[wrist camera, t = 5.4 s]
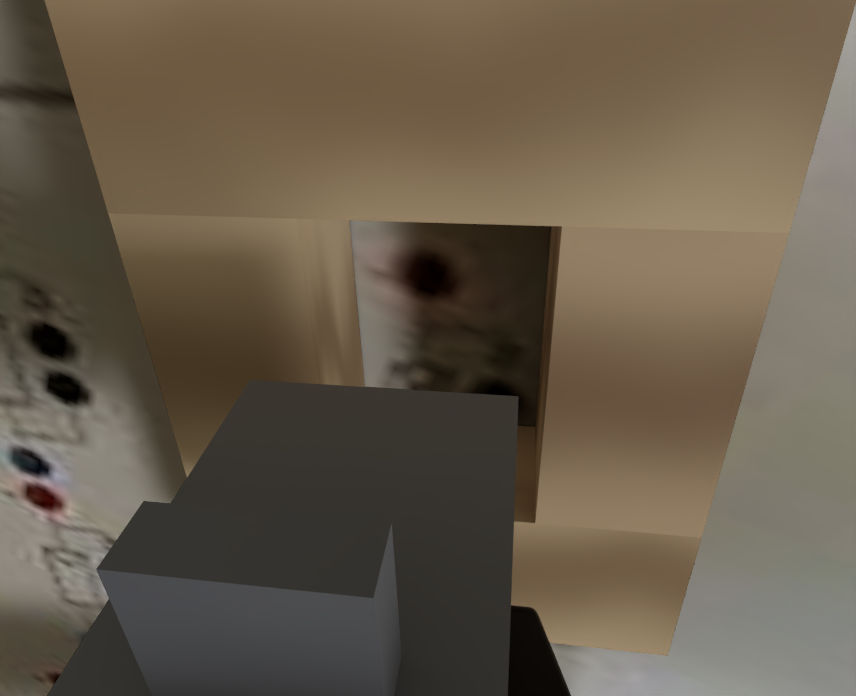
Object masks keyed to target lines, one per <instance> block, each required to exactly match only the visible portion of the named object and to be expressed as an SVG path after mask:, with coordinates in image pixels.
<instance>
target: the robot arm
mask: <svg viewBox="0 0 856 696" xmlns="http://www.w3.org/2000/svg"><path fill="white" fill-rule="evenodd" d="M508 696H571V694H570V692H569V689H568V687H567V685H566V682H565V680H564V677H563V675H562V672H561V670H560V667H559V665H558V662H557V660H556V657H555V655H554V652H553V650H552V647H551V645H550V642H549V640H548V637H547V635H546V632H545V630H544V627H543V625H542V622H541V620H540V617H539V615H538V613H537V612H536V610H535V609H534V608H532V607H524V606H514V605H511V619H510V647H509V675H508Z"/></svg>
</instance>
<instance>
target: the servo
mask: <svg viewBox="0 0 856 696" xmlns="http://www.w3.org/2000/svg"><path fill="white" fill-rule="evenodd" d="M518 398H519V396H505V395H488V394H472V393H456V392H440V391H423V390H407V389H391V388H375V387H358V386H342V385H326V384H310V383H293V382H277V381H261V380H250V381H249V382H248V384H247V385H246V387H245V388H244V390H243V391H242V393H241V395H240V396H239V398H238V399H237V401H236V402H235V404H234V405H233V407H232V409H231V410H230V412H229V413H228V415H227V416H226V418H225V419H224V421H223V423H222V424H221V426H220V427H219V429H218V430H217V432H216V433H215V435H214V437H213V438H212V440H211V441H210V443H209V444H208V446H207V447H206V449H205V451H204V452H203V454H202V455H201V457H200V458H199V460H198V461H197V463H196V465H195V466H194V468H193V469H192V471H191V472H190V474H189V475H188V477H187V479H186V480H185V482H184V483H183V485H182V486H181V488H180V489H179V491H178V493H177V494H176V496H175V497H174V499H173V500H172V502H171V503H159V502H148V501H143V503H142V504H141V506H140V507H139V509H138V510H137V512H136V513H135V514H134V516H133V517H132V519H131V520H130V522H129V523H128V525H127V526H126V527H125V529H124V530H123V532H122V533H121V535H120V536H119V538H118V539H117V540H116V542H115V543H114V545H113V546H112V548H111V549H110V551H109V552H108V553H107V555H106V556H105V558H104V559H103V561H102V562H101V563H100V565H99V566H98V568H97V569H96V570H97V572H98V574H99V576H100V579H101V581H102V583H103V586H104V588H105V590H106V592H107V595H108V597H109V600H108V601H107V603H106V605H105V606H104V608H103V609H102V611H101V612H100V614H99V615H98V617H97V619H96V620H95V622H94V623H93V625H92V626H91V628H90V629H89V631H88V633H87V634H86V636H85V637H84V639H83V640H82V642H81V643H80V645H79V647H78V648H77V650H76V651H75V653H74V654H73V656H72V657H71V659H70V661H69V662H68V664H67V665H66V667H65V668H64V670H63V671H62V673H61V675H60V676H59V678H58V679H57V681H56V682H55V684H54V685H53V687H52V689H51V690H50V692H49V693H48V695H47V696H508V675H509V647H510V619H511V592H512V564H513V536H514V509H515V481H516V453H517V426H518Z"/></svg>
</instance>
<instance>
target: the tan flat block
mask: <svg viewBox="0 0 856 696" xmlns="http://www.w3.org/2000/svg"><path fill="white" fill-rule="evenodd" d="M45 3H46V7H47V10H48V13H49V17H50V20H51V23H52V27H53V30H54V34H55V37H56V40H57V44H58V47H59V50H60V54H61V57H62V60H63V64H64V67H65V70H66V74H67V77H68V80H69V84H70V87H71V91H72V94H73V97H74V101H75V104H76V107H77V111H78V114H79V117H80V121H81V124H82V127H83V131H84V134H85V137H86V141H87V144H88V148H89V151H90V154H91V158H92V161H93V164H94V168H95V171H96V174H97V178H98V181H99V184H100V188H101V191H102V194H103V198H104V201H105V205H106V208H107V211H108V215H109V218H110V221H111V225H112V228H113V231H114V235H115V238H116V241H117V245H118V248H119V251H120V255H121V258H122V262H123V265H124V268H125V272H126V275H127V278H128V282H129V285H130V288H131V292H132V295H133V298H134V302H135V305H136V308H137V312H138V315H139V319H140V322H141V325H142V329H143V332H144V335H145V339H146V342H147V345H148V349H149V352H150V355H151V359H152V362H153V365H154V369H155V372H156V376H157V379H158V382H159V386H160V389H161V392H162V396H163V399H164V402H165V406H166V409H167V412H168V416H169V419H170V423H171V426H172V429H173V433H174V436H175V439H176V443H177V446H178V449H179V453H180V456H181V459H182V463H183V466H184V469H185V473H186V476H187V477H188V475H189V474H190V472H191V471H192V469H193V468H194V466H195V465H196V463H197V461H198V460H199V458H200V457H201V455H202V454H203V452H204V451H205V449H206V447H207V446H208V444H209V443H210V441H211V440H212V438H213V437H214V435H215V433H216V432H217V430H218V429H219V427H220V426H221V424H222V423H223V421H224V419H225V418H226V416H227V415H228V413H229V412H230V410H231V409H232V407H233V405H234V404H235V402H236V401H237V399H238V398H239V396H240V395H241V393H242V391H243V390H244V388H245V387H246V385H247V384H248V382H249V381H250V380H261V381H277V382H293V383H310V384H326V385H342V386H358V387H365V383H364V372H363V361H362V350H361V339H360V329H359V318H358V307H357V296H356V286H355V275H354V264H353V253H352V242H351V232H350V221H349V220H356V221H391V222H425V223H460V224H495V225H529V226H552V228H551V240H550V252H549V265H548V277H547V289H546V302H545V314H544V326H543V338H542V351H541V363H540V375H539V388H538V400H537V412H536V425H535V427H531V426H517V453H516V481H515V509H514V536H513V564H512V592H511V605H514V606H524V607H532V608H534V609H535V610H536V612H537V613H538V615H539V617H540V620H541V622H542V625H543V627H544V630H545V632H546V635H547V637H548V640H549V642H550V643H558V644H567V645H576V646H585V647H594V648H603V649H612V650H621V651H630V652H639V653H648V654H657V655H666V656H668V652H669V649H670V645H671V642H672V638H673V635H674V631H675V628H676V625H677V621H678V618H679V614H680V611H681V607H682V604H683V600H684V597H685V593H686V590H687V586H688V583H689V579H690V576H691V572H692V569H693V566H694V562H695V559H696V555H697V552H698V548H699V545H700V541H701V538H702V534H703V531H704V527H705V524H706V520H707V517H708V513H709V510H710V507H711V503H712V500H713V496H714V493H715V489H716V486H717V482H718V479H719V475H720V472H721V468H722V465H723V461H724V458H725V454H726V451H727V448H728V444H729V441H730V437H731V434H732V430H733V427H734V423H735V420H736V416H737V413H738V409H739V406H740V402H741V399H742V395H743V392H744V389H745V385H746V382H747V378H748V375H749V371H750V368H751V364H752V361H753V357H754V354H755V350H756V347H757V343H758V340H759V336H760V333H761V330H762V326H763V323H764V319H765V316H766V312H767V309H768V305H769V302H770V298H771V295H772V291H773V288H774V284H775V281H776V277H777V274H778V270H779V267H780V264H781V260H782V257H783V253H784V250H785V246H786V243H787V239H788V236H789V232H790V229H791V225H792V222H793V218H794V215H795V211H796V208H797V205H798V201H799V198H800V194H801V191H802V187H803V184H804V180H805V177H806V173H807V170H808V166H809V163H810V159H811V156H812V152H813V149H814V146H815V142H816V139H817V135H818V132H819V128H820V125H821V121H822V118H823V114H824V111H825V107H826V104H827V100H828V97H829V93H830V90H831V87H832V83H833V80H834V76H835V73H836V69H837V66H838V62H839V59H840V55H841V52H842V48H843V45H844V41H845V38H846V34H847V31H848V28H849V24H850V21H851V17H852V14H853V10H854V7H855V3H856V0H45Z"/></svg>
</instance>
